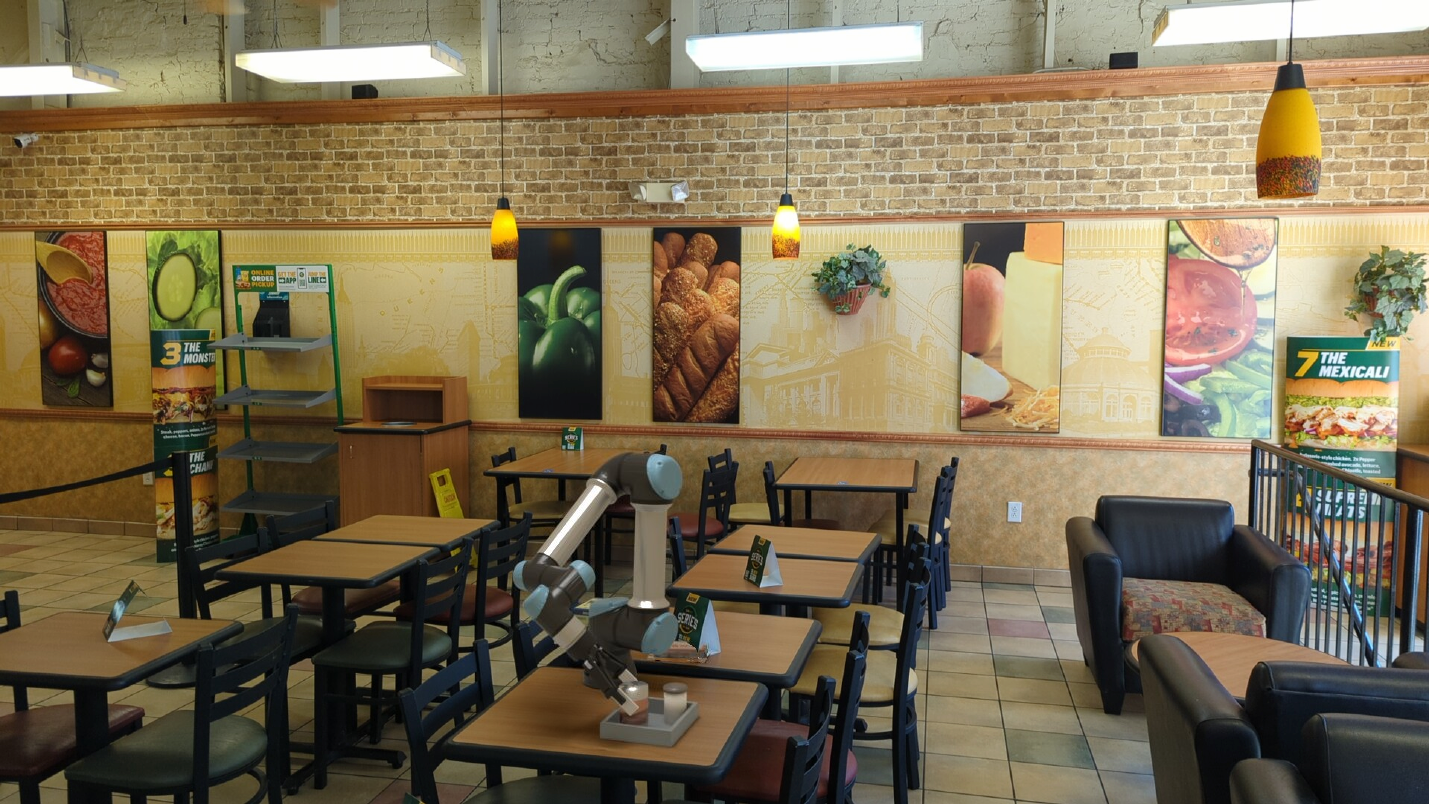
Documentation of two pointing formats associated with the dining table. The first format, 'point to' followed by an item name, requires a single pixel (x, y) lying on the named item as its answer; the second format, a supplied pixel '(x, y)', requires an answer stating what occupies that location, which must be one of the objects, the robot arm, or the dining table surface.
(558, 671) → the dining table surface
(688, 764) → the dining table surface
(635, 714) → the clear orange banded jar
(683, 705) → the capped white cylinder
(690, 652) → the packaged product
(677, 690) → the cup lid
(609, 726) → the grey tray
